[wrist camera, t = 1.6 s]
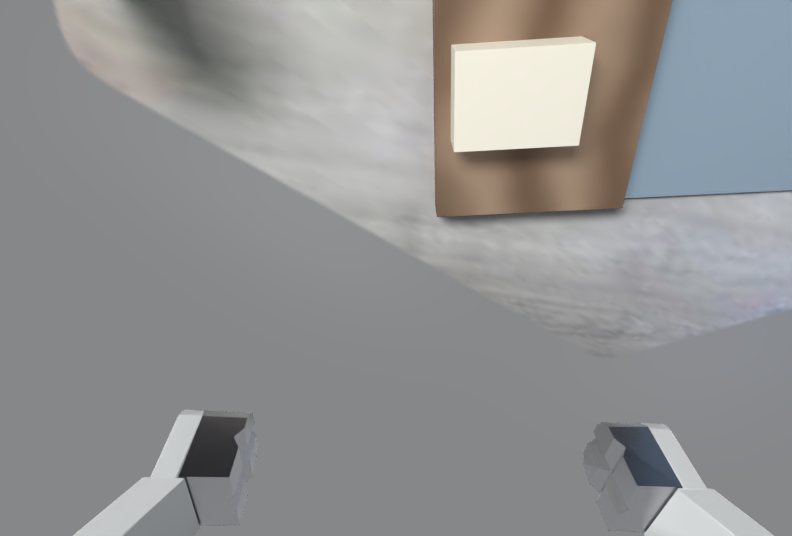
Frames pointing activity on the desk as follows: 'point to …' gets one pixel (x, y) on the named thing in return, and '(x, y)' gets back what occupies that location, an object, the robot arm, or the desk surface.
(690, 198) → the desk surface
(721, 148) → the mat
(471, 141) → the tile
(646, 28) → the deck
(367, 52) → the desk surface
